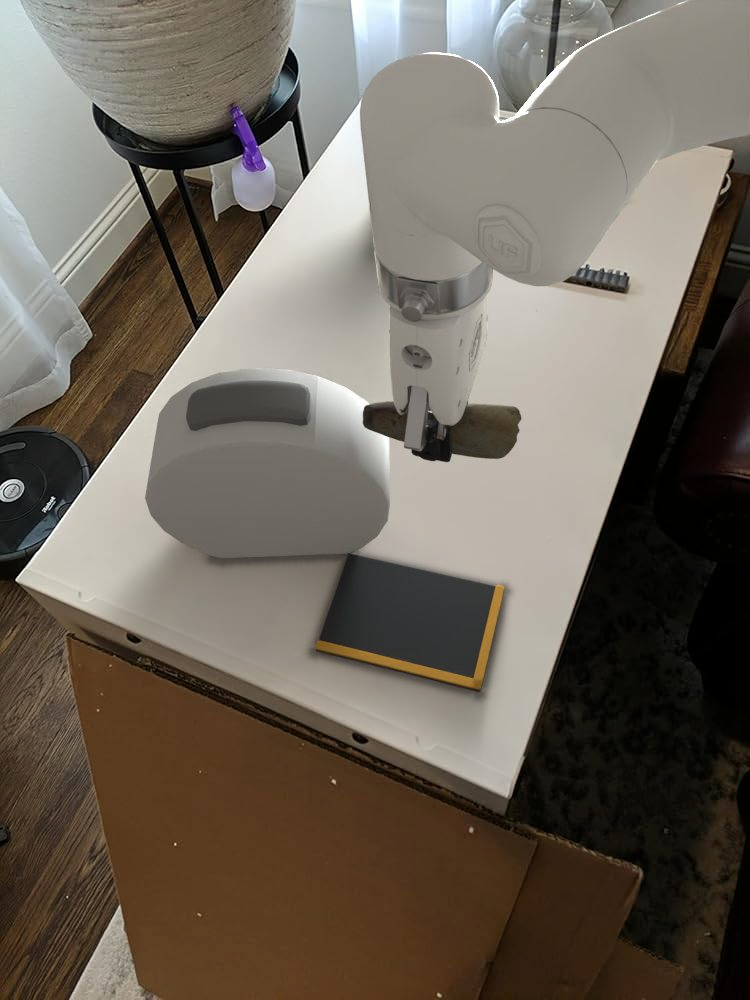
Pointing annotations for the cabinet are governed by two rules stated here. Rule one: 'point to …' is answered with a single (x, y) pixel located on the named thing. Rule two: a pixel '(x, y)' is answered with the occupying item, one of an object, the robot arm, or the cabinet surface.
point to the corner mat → (412, 621)
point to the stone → (456, 427)
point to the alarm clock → (268, 466)
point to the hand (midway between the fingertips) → (440, 429)
